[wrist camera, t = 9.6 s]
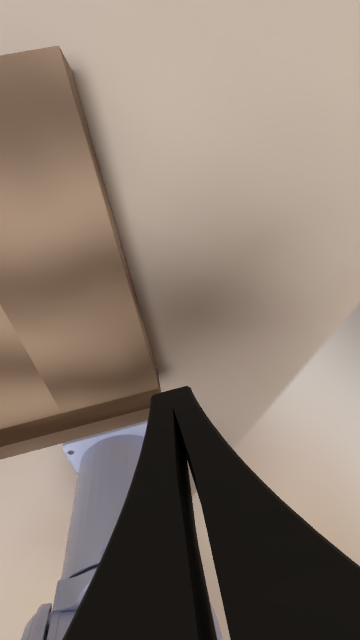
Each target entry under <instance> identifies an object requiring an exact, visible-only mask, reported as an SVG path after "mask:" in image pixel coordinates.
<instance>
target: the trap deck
mask: <svg viewBox="0 0 360 640" xmlns="http://www.w3.org/2000/svg"><path fill="white" fill-rule="evenodd" d="M158 393H161V389H160V383H159V377H158V373H157V369H156V366H155V362H154V359H153V355H152V352H151V348H150V345H149V341H148V338H147V334H146V331H145V327H144V324H143V320H142V317H141V313H140V310H139V306H138V302H137V299H136V295H135V292H134V288H133V285H132V281H131V278H130V274H129V271H128V267H127V264H126V260H125V257H124V253H123V250H122V246H121V243H120V239H119V236H118V232H117V229H116V225H115V222H114V218H113V215H112V211H111V208H110V204H109V201H108V197H107V194H106V190H105V187H104V183H103V180H102V176H101V173H100V169H99V166H98V162H97V158H96V155H95V151H94V148H93V144H92V141H91V137H90V134H89V130H88V127H87V123H86V120H85V116H84V113H83V109H82V106H81V102H80V99H79V95H78V92H77V88H76V85H75V81H74V78H73V74H72V71H71V68H70V66H69V64H68V62H67V61H66V59H65V57H64V55H63V53H62V51H61V49H60V47H59V46H54V47H48V48H42V49H36V50H31V51H25V52H19V53H13V54H7V55H2V56H0V459H4V458H8V457H12V456H15V455H19V454H23V453H27V452H30V451H34V450H38V449H42V448H46V447H49V446H53V445H57V444H61V443H64V442H68V441H72V440H76V439H79V438H83V437H87V436H91V435H95V434H98V433H102V432H106V431H110V430H113V429H117V428H121V427H125V426H129V425H132V424H136V423H140V422H144V421H147V420H148V417H149V411H150V403H151V397H152V396H153V395H154V394H158Z"/></svg>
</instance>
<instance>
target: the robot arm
mask: <svg viewBox="0 0 360 640" xmlns="http://www.w3.org/2000/svg"><path fill="white" fill-rule="evenodd" d="M62 450H63V451H64V453H65V455H66V456H67V458H68V459H69V461H70V463H71V464H72V466H73V467H74V469H75V471H76V472H77V474H78V479H77V485H76V491H75V497H74V503H73V509H72V516H71V522H70V528H69V534H68V540H67V546H66V552H65V558H64V564H63V570H62V576H61V580H59V581H58V582H57V587H56V593H55V599H54V605H53V611H52V612H51V610H52V604H51V603H48V604H43V605H41V606H40V607H39V609H38V611H37V613H36V614H35V615H34V616H33V617H32V618H31V619H30V620H29V622H28V623H27V625H26V627H25V630H24V633H23V636H22V639H21V640H223V638H222V634H221V630H220V627H219V623H218V620H217V617H216V614H215V612H214V609H213V607H212V605H211V603H210V601H209V596H208V591H207V586H206V581H205V576H204V571H203V566H202V561H201V556H200V551H199V546H198V540H197V534H196V528H195V520H194V511H193V503H192V496H191V488H190V480H189V472H188V464H187V460H188V463H189V467H190V470H191V473H192V476H193V480H194V483H195V486H196V489H197V492H198V496H199V499H200V502H201V505H202V510H203V514H204V518H205V523H206V527H207V532H208V537H209V541H210V546H211V551H212V555H213V560H214V564H215V569H216V574H217V578H218V583H219V587H220V592H221V597H222V601H223V606H224V611H225V615H226V620H227V624H228V629H229V634H230V638H231V640H360V566H359V565H357V564H356V563H355V562H354V561H352V560H351V559H350V558H349V557H347V556H346V555H345V554H344V553H342V552H341V551H340V550H339V549H338V548H336V547H335V546H334V545H333V544H331V543H330V542H329V541H328V540H327V539H326V538H324V537H323V536H322V535H321V534H319V533H318V532H317V531H316V530H315V529H314V528H313V527H311V526H310V525H309V524H308V523H307V522H306V521H305V520H304V519H303V518H301V517H300V516H299V515H298V514H297V513H296V512H295V511H293V510H292V509H291V508H290V507H289V506H288V505H287V504H286V503H285V502H283V501H282V500H281V499H280V498H279V497H278V496H277V495H276V494H275V493H274V492H273V491H272V490H271V489H270V488H269V487H268V486H267V485H266V484H265V483H264V482H263V481H262V480H261V479H260V478H259V477H258V476H257V475H256V474H255V473H254V472H253V471H252V470H251V469H250V468H249V467H248V466H247V465H246V464H245V463H244V461H243V460H242V459H241V458H240V457H239V456H238V455H237V454H236V452H235V451H234V450H233V449H232V448H231V447H230V445H229V444H228V443H227V442H226V441H225V439H224V438H223V437H222V436H221V434H220V433H219V432H218V430H217V429H216V428H215V427H214V425H213V424H212V423H211V421H210V420H209V418H208V417H207V416H206V414H205V413H204V411H203V410H202V408H201V407H200V405H199V403H198V402H197V400H196V398H195V396H194V394H193V392H192V390H191V388H190V387H188V386H185V387H181V388H177V389H173V390H170V391H166V392H162V393H158V394H154V395H153V396H152V397H151V403H150V411H149V417H148V420H147V421H144V422H140V423H136V424H132V425H129V426H125V427H121V428H117V429H113V430H110V431H106V432H102V433H98V434H95V435H91V436H87V437H83V438H79V439H76V440H72V441H68V442H64V443H63V447H62Z"/></svg>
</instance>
